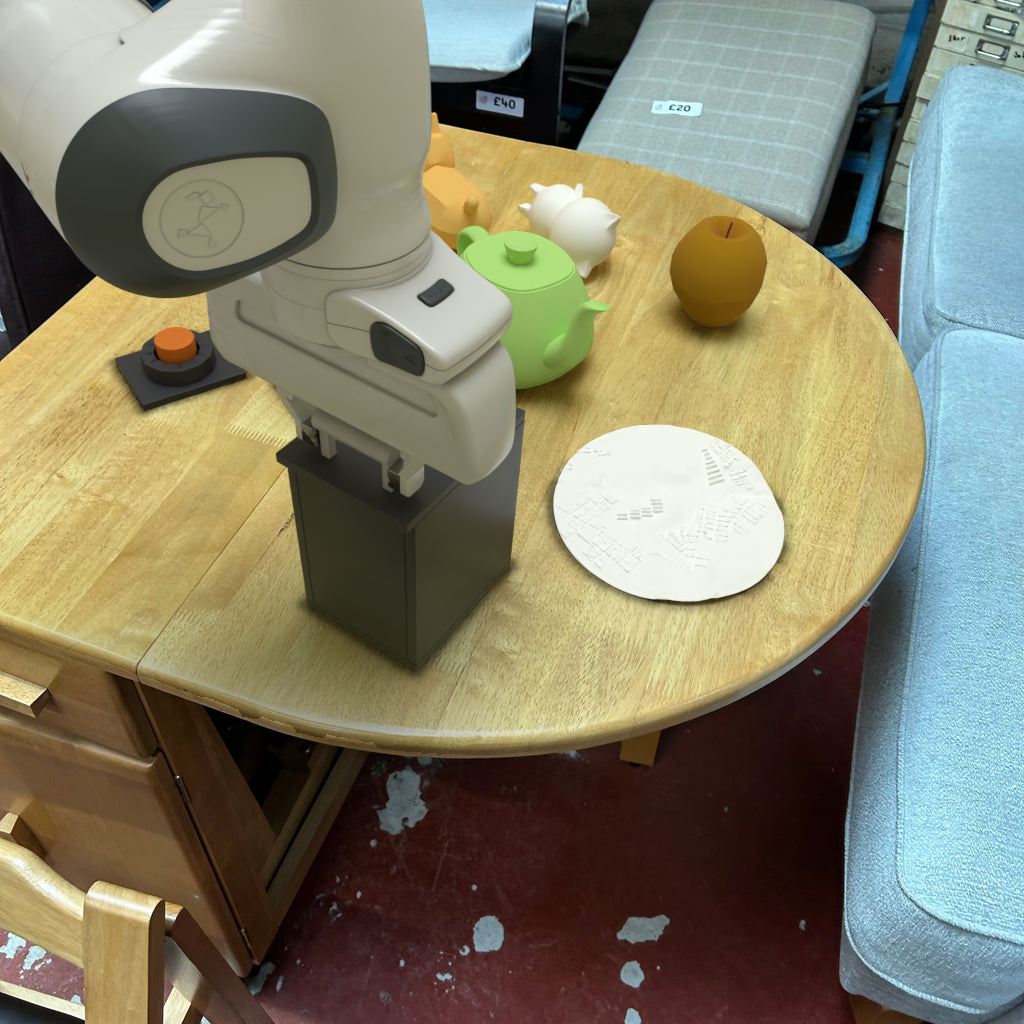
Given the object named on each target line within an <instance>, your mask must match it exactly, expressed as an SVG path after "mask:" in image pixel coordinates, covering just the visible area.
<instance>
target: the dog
mask: <svg viewBox="0 0 1024 1024" xmlns="http://www.w3.org/2000/svg"><path fill="white" fill-rule="evenodd" d="M423 185H424V191H425V194H426V197H427V200H428V204H429V208H430V213H431V231H433V232H434V233H436V234H437V235H438V236H439V237H440V238H441V239H442V240H443V241H444V242H445V243H446V244H447V245H448V246H449V247H450V248H451V249H452V250H453V251H454V250H457V236H458V234H459V232H460V231H461V230H463V229H464V228H467V227H470V226H479V227H482V228H483V229H485V230H486V231H487V232H488V233H489V231H490V229H491V227H492V225H493V214H492V211H491V208H490V206H489V203H488V201H487V198H486V196H485V194H484V193H483V192H482V190H480V188H478V187H477V186H476V185H474V184H473V183H472V182H471V181H470V180H469V179H467V177H465V176H464V175H463V174H462V173H460V172H459V171H458V170H457V169H456V157H455V152H454V147H453V145H452V143H451V142H450V140H449V137H448V136H447V134H446V132H445V131H444V130H443V129H442V128H440V124H439V119H438V114H437V113H436V112H435V111H434V112H431V145H430V150H429V154H428V157H427V160H426V163H425V167H424V173H423Z"/></svg>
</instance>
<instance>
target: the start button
mask: <svg viewBox="0 0 1024 1024" xmlns="http://www.w3.org/2000/svg"><path fill="white" fill-rule="evenodd" d="M190 330H191V329H190V328H187V327H183V326H170V327H165V328H164V329H161V330H160V331H158V332H157V333H156V334H155V335H156V336H155V335H154V336H155V338H154V343H155V347H156V351H157V355H158V358H159V359H160V360H161V361H162V362H165V363H182V362H185V361H189V360H191V359H192V358H194V357H195V356H196V354H197V347H196V343H195V338H194V334H193V333H192V331H190Z"/></svg>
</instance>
